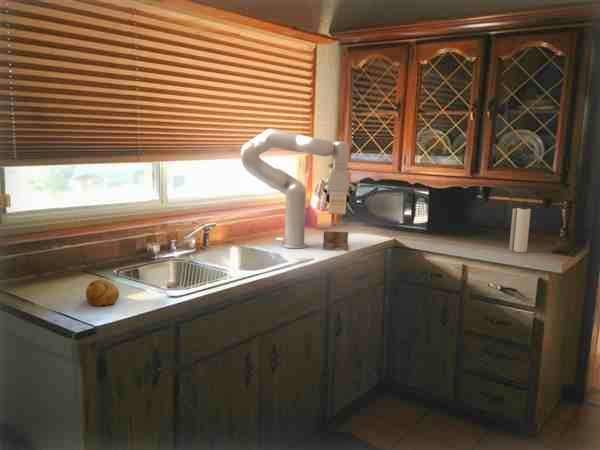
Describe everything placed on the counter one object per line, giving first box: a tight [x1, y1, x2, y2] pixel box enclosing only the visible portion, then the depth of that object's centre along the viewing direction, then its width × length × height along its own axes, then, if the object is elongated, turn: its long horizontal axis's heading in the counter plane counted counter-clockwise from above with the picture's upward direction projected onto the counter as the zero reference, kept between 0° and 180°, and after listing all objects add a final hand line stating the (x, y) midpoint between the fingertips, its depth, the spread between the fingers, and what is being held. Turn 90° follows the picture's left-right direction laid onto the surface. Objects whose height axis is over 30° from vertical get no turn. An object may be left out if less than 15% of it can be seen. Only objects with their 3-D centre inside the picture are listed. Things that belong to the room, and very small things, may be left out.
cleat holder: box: [322, 230, 349, 252], centre depth 262 cm, size 12×12×7 cm
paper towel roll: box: [508, 207, 531, 254], centre depth 263 cm, size 7×6×21 cm
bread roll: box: [85, 278, 120, 307], centre depth 172 cm, size 13×10×8 cm
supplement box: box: [328, 190, 347, 215], centre depth 261 cm, size 8×5×13 cm, turn 89°
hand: (337, 203), depth 262 cm, fingers closed on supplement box, 8 cm apart
